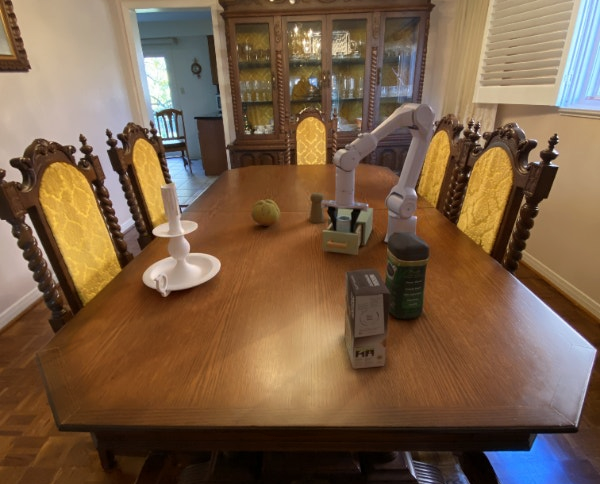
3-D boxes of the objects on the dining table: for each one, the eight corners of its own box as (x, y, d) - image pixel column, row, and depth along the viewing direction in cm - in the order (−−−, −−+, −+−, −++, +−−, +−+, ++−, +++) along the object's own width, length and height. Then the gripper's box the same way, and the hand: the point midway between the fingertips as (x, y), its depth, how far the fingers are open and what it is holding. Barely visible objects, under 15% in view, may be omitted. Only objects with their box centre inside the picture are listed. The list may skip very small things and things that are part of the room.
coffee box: (386, 366, 65) (392, 293, 59) (352, 369, 65) (355, 296, 59) (372, 334, 74) (376, 267, 68) (342, 336, 73) (344, 270, 67)
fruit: (246, 229, 131) (244, 203, 127) (261, 218, 141) (259, 195, 137) (272, 232, 127) (271, 206, 123) (285, 221, 137) (284, 197, 133)
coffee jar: (427, 319, 78) (437, 244, 71) (393, 322, 77) (400, 247, 70) (409, 295, 87) (416, 227, 80) (378, 298, 86) (383, 229, 79)
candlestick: (120, 309, 84) (92, 200, 74) (164, 261, 107) (148, 173, 97) (202, 311, 83) (185, 200, 72) (229, 262, 106) (219, 172, 95)
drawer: (354, 261, 103) (355, 240, 100) (317, 255, 106) (317, 236, 104) (365, 238, 118) (366, 219, 116) (333, 234, 122) (333, 216, 119)
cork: (323, 223, 134) (323, 196, 130) (308, 222, 135) (307, 195, 131) (325, 217, 140) (325, 191, 136) (311, 217, 141) (310, 191, 137)
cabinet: (364, 245, 114) (365, 222, 111) (327, 241, 118) (328, 218, 115) (372, 229, 127) (373, 208, 124) (338, 226, 131) (338, 205, 128)
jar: (353, 232, 113) (353, 216, 111) (349, 238, 108) (350, 221, 106) (338, 230, 115) (338, 214, 112) (334, 236, 110) (334, 219, 108)
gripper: (318, 191, 105) (318, 232, 110) (366, 194, 100) (364, 237, 105) (324, 185, 111) (324, 224, 116) (370, 188, 106) (368, 229, 111)
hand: (343, 230), depth 111 cm, fingers closed on jar, 5 cm apart
